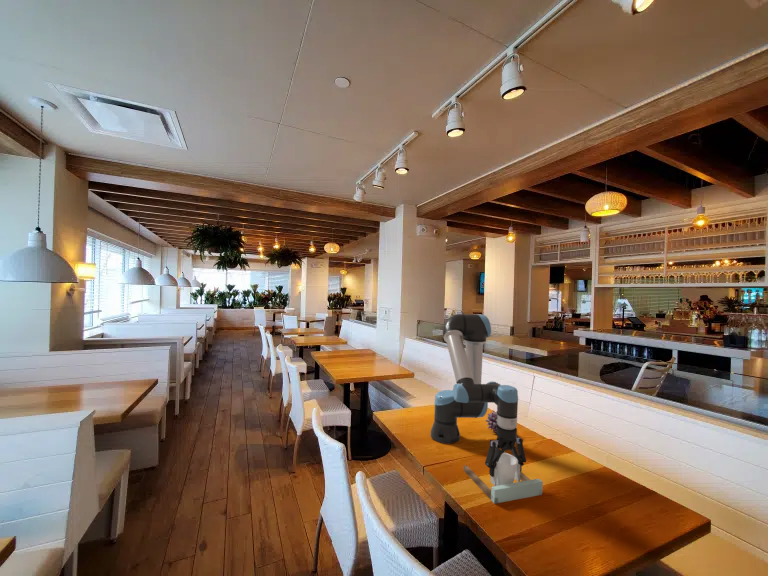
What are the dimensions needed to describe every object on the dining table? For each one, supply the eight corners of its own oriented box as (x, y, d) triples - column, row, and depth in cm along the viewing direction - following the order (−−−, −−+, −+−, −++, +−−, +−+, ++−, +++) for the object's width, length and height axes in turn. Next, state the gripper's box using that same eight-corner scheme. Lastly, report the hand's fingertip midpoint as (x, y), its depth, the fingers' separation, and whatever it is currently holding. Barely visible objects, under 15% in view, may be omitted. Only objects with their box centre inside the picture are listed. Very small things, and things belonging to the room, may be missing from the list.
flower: (510, 431, 178) (510, 409, 178) (505, 439, 168) (506, 417, 168) (488, 426, 184) (489, 405, 184) (483, 434, 174) (483, 411, 174)
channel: (463, 470, 139) (463, 465, 139) (505, 463, 145) (505, 459, 145) (494, 503, 118) (494, 498, 118) (542, 494, 124) (542, 489, 124)
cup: (519, 495, 123) (520, 467, 122) (492, 492, 124) (493, 463, 124) (514, 480, 132) (515, 453, 132) (489, 477, 134) (490, 450, 134)
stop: (491, 500, 120) (491, 486, 120) (538, 491, 126) (538, 478, 126) (494, 503, 118) (494, 490, 118) (542, 494, 124) (542, 481, 124)
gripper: (487, 433, 121) (485, 492, 122) (537, 427, 128) (535, 483, 128) (476, 424, 129) (474, 480, 129) (524, 419, 135) (522, 472, 135)
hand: (505, 481), depth 128 cm, fingers open, 10 cm apart
